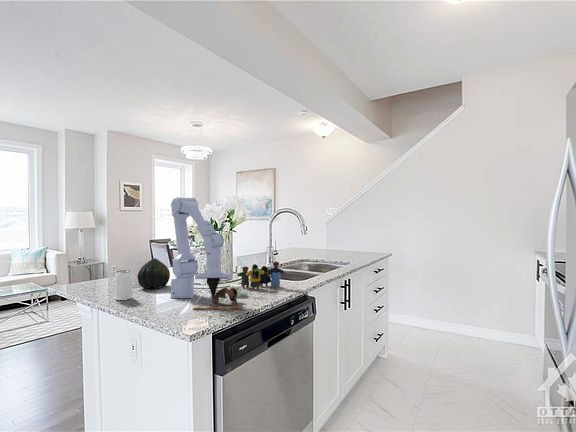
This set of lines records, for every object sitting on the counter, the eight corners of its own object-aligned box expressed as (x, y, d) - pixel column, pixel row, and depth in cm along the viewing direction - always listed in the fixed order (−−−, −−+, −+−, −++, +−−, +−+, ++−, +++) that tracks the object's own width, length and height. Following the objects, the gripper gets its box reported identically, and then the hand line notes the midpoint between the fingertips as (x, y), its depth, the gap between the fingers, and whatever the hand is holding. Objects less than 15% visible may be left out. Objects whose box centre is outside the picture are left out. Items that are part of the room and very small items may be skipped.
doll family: (278, 284, 170) (279, 258, 170) (286, 288, 162) (287, 261, 162) (236, 289, 159) (236, 261, 159) (242, 293, 151) (242, 264, 151)
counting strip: (192, 309, 125) (192, 307, 125) (194, 308, 127) (194, 306, 127) (242, 309, 125) (242, 307, 125) (243, 308, 127) (243, 306, 127)
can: (135, 298, 142) (135, 270, 142) (122, 301, 136) (122, 273, 136) (125, 296, 145) (125, 269, 145) (111, 300, 139) (111, 271, 139)
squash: (148, 281, 150) (164, 254, 160) (126, 280, 157) (142, 254, 166) (166, 296, 160) (180, 270, 169) (145, 294, 166) (159, 269, 175)
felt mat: (230, 297, 143) (230, 296, 143) (233, 293, 150) (233, 292, 150) (246, 297, 143) (246, 296, 143) (248, 293, 150) (248, 292, 150)
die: (229, 296, 143) (229, 286, 143) (231, 294, 148) (231, 283, 148) (240, 296, 143) (240, 286, 143) (241, 294, 148) (241, 283, 148)
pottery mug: (231, 311, 124) (220, 293, 124) (215, 318, 129) (204, 301, 128) (247, 296, 135) (237, 279, 135) (231, 303, 139) (221, 287, 139)
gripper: (193, 264, 130) (193, 299, 130) (229, 265, 130) (229, 299, 130) (197, 262, 137) (197, 294, 137) (232, 262, 137) (232, 294, 137)
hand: (213, 296), depth 134 cm, fingers closed
